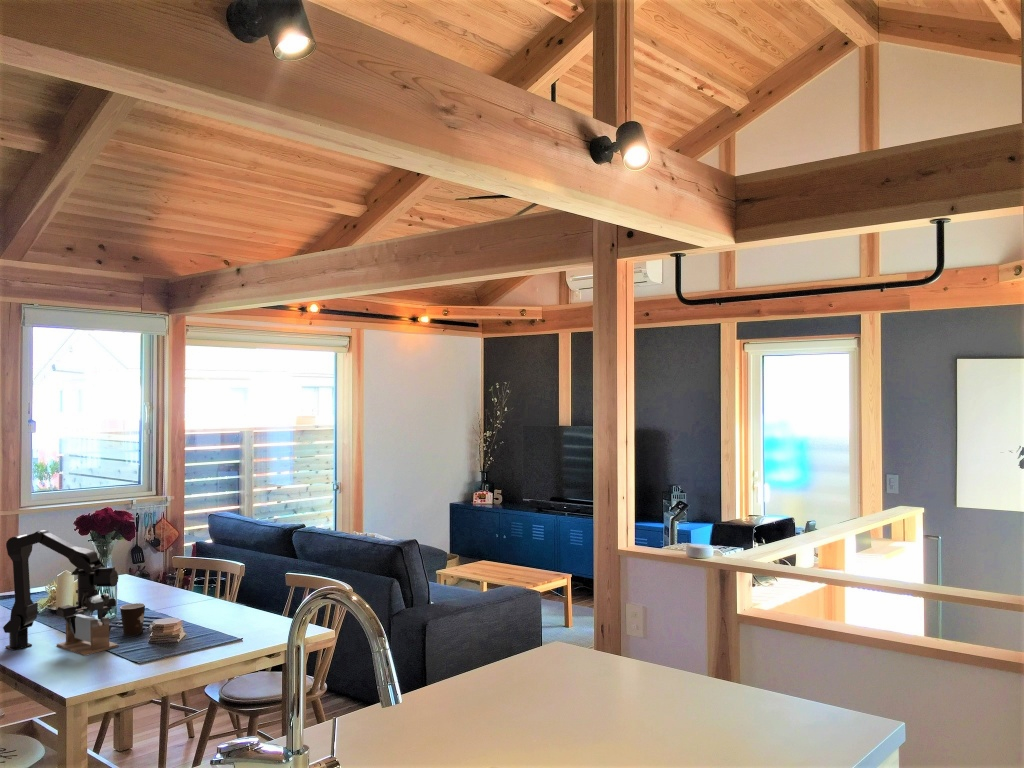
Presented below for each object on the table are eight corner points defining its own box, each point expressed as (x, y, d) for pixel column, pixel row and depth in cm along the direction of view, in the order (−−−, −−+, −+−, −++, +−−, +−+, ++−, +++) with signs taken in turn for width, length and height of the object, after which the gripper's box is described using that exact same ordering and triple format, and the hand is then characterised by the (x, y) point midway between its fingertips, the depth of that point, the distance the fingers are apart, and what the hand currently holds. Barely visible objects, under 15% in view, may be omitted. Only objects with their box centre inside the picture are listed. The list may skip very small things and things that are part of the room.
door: (71, 636, 301) (71, 614, 301) (77, 635, 303) (76, 613, 303) (98, 644, 290) (98, 621, 290) (103, 643, 291) (103, 620, 291)
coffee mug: (129, 637, 307) (129, 610, 307) (115, 634, 311) (115, 607, 312) (157, 629, 317) (157, 603, 317) (143, 626, 321) (143, 600, 322)
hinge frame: (56, 646, 297) (56, 615, 298) (90, 637, 307) (89, 608, 307) (84, 655, 285) (84, 623, 286) (118, 646, 295) (118, 615, 295)
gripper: (70, 595, 284) (71, 640, 284) (123, 584, 299) (124, 628, 299) (55, 591, 291) (55, 635, 291) (107, 580, 306) (108, 623, 306)
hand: (87, 630), depth 296 cm, fingers open, 9 cm apart
